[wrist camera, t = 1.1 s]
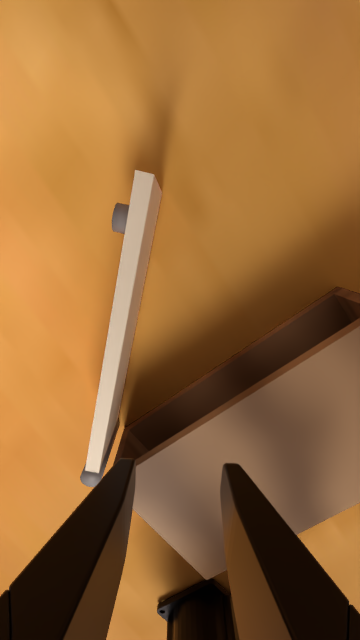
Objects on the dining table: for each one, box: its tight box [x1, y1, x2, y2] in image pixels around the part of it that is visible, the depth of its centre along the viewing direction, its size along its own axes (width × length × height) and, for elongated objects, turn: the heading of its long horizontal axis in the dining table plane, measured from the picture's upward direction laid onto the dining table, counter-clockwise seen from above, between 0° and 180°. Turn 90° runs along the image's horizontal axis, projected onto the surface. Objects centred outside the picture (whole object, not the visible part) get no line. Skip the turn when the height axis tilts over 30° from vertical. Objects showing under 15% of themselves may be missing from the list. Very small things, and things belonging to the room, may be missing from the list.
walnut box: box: [113, 287, 360, 580], centre depth 18 cm, size 18×10×5 cm, turn 127°
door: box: [80, 170, 162, 487], centre depth 16 cm, size 17×2×5 cm, turn 167°
